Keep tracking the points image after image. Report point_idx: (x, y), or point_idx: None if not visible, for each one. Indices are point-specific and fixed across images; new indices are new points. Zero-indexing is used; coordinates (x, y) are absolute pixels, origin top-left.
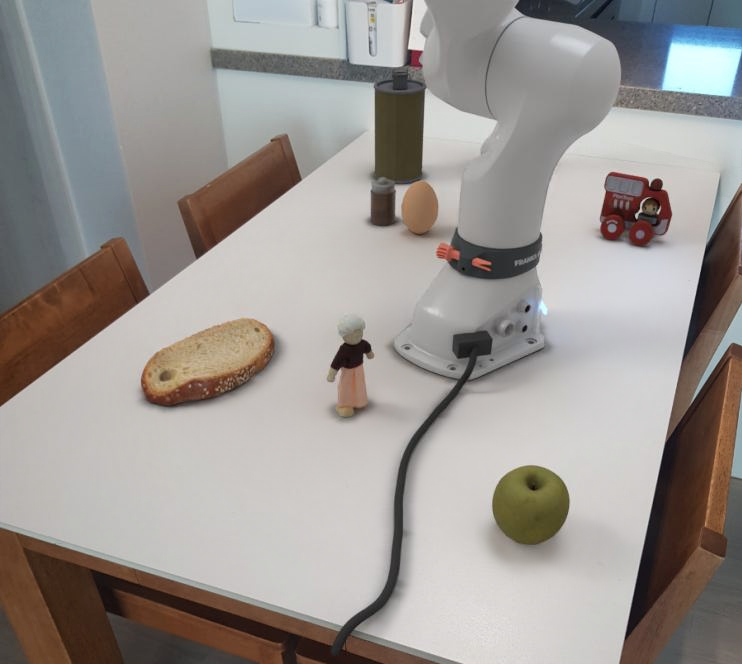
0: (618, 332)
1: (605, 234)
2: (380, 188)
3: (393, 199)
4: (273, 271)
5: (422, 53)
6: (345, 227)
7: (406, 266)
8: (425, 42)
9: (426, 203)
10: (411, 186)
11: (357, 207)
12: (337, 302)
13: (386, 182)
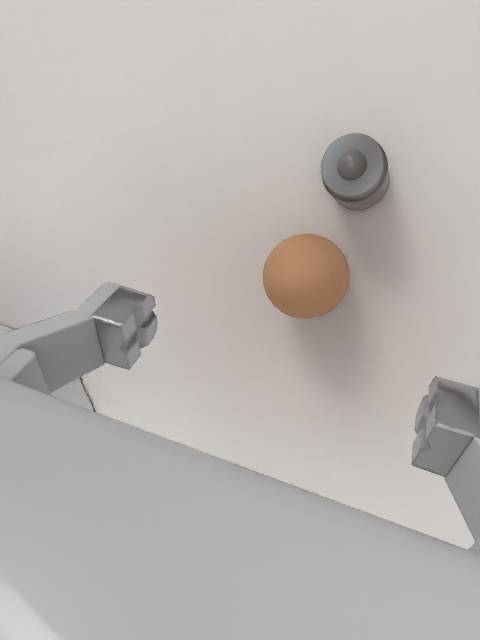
0: None
1: None
2: (321, 169)
3: (343, 202)
4: (97, 70)
5: (87, 302)
6: (305, 113)
7: (172, 284)
8: (11, 332)
9: (269, 298)
10: (285, 257)
11: (434, 89)
12: (45, 214)
13: (343, 176)
